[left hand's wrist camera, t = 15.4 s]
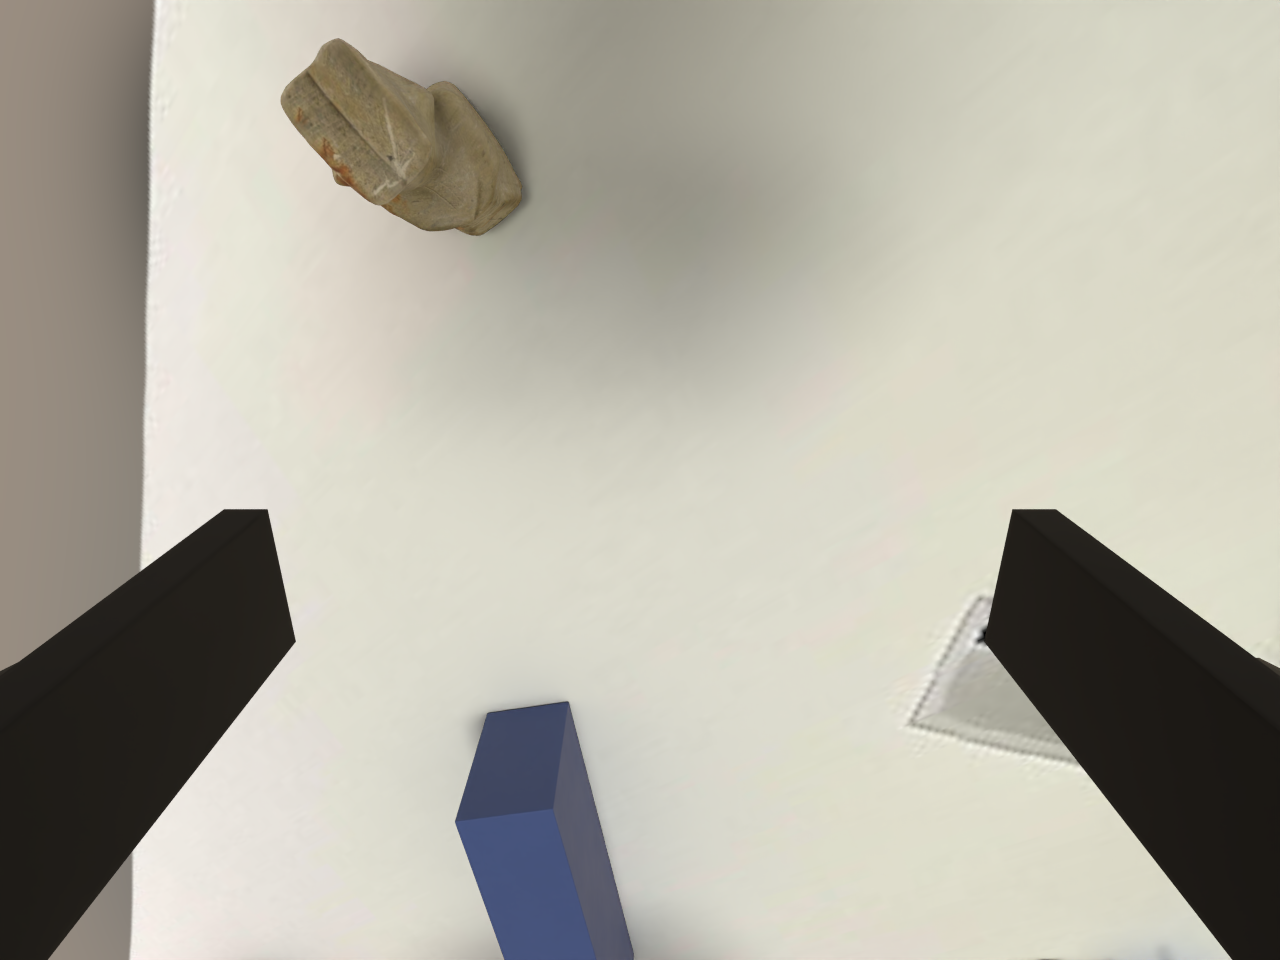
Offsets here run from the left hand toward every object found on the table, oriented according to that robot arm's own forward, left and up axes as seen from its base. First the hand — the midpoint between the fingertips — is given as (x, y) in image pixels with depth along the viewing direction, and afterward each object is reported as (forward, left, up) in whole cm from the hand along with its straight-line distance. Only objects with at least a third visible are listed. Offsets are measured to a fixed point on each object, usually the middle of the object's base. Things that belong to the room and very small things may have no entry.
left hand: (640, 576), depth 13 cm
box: (+42, +5, -31) cm, 53 cm away
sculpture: (-6, -11, -31) cm, 34 cm away
